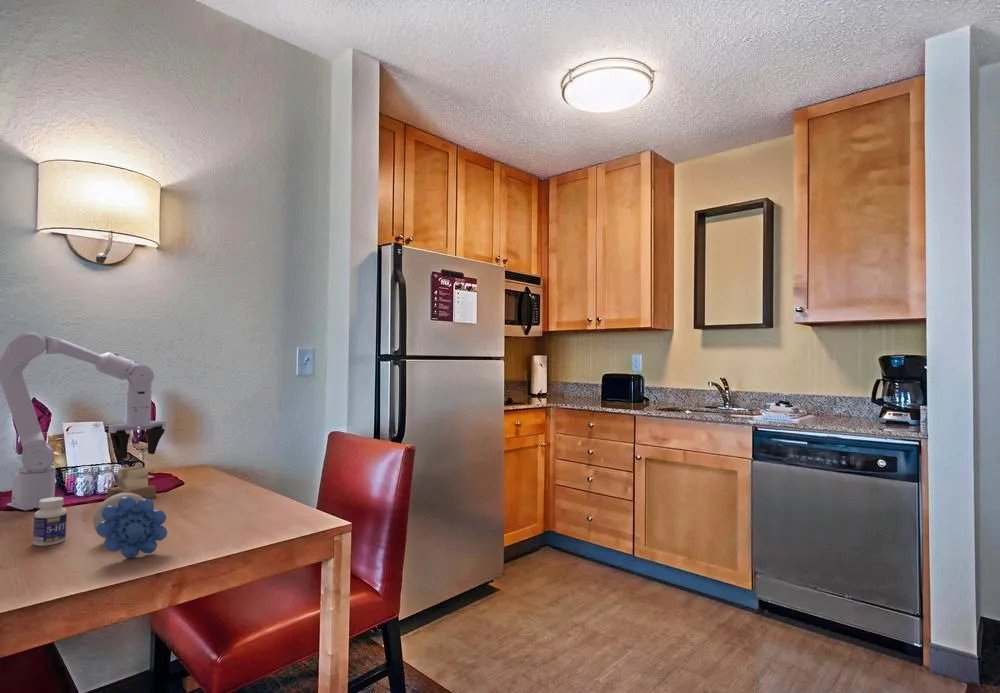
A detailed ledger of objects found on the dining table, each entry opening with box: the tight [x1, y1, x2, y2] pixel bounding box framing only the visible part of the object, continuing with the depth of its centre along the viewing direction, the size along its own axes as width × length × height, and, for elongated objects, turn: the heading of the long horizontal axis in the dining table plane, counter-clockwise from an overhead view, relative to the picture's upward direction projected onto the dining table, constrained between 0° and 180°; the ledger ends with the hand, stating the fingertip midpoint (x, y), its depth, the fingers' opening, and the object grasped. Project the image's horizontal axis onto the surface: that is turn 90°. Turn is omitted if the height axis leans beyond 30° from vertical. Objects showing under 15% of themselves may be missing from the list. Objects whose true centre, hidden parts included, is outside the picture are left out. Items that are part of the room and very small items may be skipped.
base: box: [106, 484, 157, 500], centre depth 150 cm, size 8×8×3 cm
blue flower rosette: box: [95, 497, 168, 559], centre depth 107 cm, size 12×7×12 cm, turn 129°
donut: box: [92, 493, 143, 540], centre depth 117 cm, size 10×4×10 cm, turn 135°
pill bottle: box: [32, 496, 68, 547], centre depth 115 cm, size 5×5×9 cm
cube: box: [117, 465, 149, 490], centre depth 150 cm, size 5×5×5 cm
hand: (137, 455), depth 156 cm, fingers open, 7 cm apart
